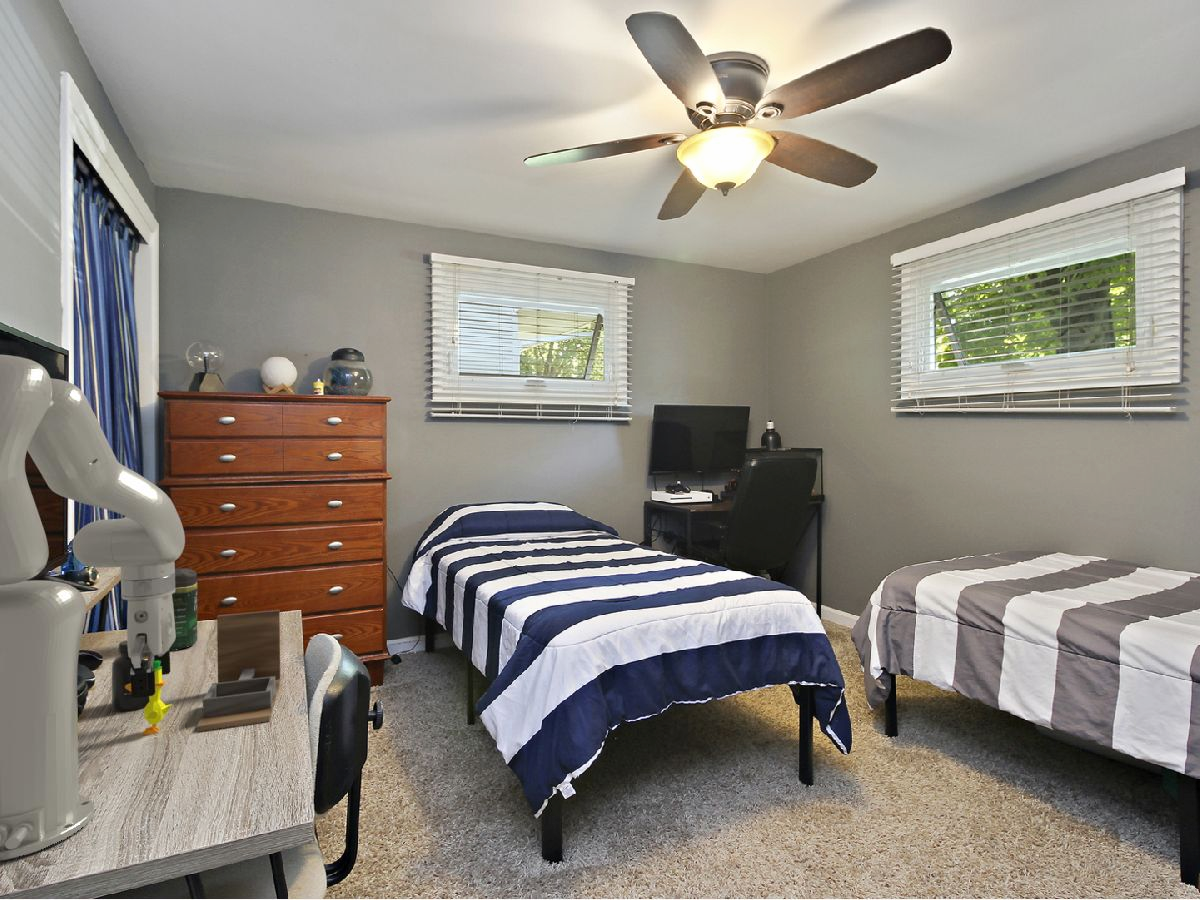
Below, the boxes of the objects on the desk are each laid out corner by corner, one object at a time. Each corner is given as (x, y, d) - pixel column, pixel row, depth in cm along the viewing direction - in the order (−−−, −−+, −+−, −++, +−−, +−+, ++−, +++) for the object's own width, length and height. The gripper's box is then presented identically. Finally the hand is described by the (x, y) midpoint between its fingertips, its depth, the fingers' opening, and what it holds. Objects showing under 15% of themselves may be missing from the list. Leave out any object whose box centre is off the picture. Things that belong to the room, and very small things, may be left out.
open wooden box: (269, 721, 114) (268, 636, 114) (197, 731, 110) (196, 644, 110) (280, 682, 132) (279, 609, 132) (218, 690, 128) (218, 615, 128)
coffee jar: (194, 649, 155) (193, 571, 155) (155, 653, 151) (154, 574, 151) (200, 638, 164) (199, 565, 163) (163, 642, 160) (162, 567, 160)
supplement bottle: (133, 713, 117) (132, 648, 117) (102, 710, 119) (101, 645, 119) (165, 699, 124) (164, 636, 124) (136, 696, 126) (135, 634, 125)
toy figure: (122, 740, 107) (121, 668, 107) (129, 731, 110) (128, 661, 110) (170, 733, 109) (170, 662, 109) (175, 724, 113) (174, 656, 113)
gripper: (161, 596, 103) (164, 701, 104) (186, 573, 119) (188, 664, 120) (104, 601, 100) (108, 709, 101) (137, 576, 116) (140, 670, 117)
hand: (151, 685), depth 110 cm, fingers open, 9 cm apart
